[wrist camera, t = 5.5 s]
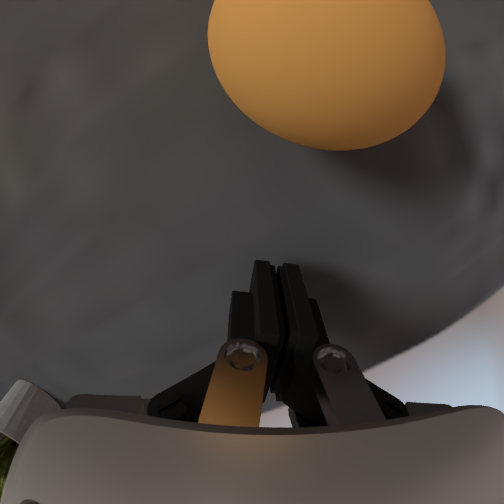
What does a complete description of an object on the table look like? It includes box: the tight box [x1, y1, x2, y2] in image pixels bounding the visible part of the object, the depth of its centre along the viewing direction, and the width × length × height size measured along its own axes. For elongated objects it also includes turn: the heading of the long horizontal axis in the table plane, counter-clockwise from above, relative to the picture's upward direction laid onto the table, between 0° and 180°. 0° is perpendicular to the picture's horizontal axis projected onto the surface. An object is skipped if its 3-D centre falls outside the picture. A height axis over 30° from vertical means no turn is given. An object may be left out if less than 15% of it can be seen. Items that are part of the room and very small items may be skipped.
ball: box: [208, 0, 446, 151], centre depth 6 cm, size 6×6×6 cm
